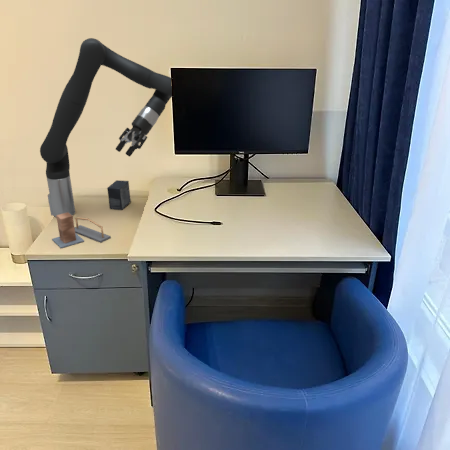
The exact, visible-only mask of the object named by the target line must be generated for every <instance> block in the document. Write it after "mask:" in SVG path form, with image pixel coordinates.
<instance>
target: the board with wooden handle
mask: <svg viewBox="0 0 450 450" xmlns="http://www.w3.org/2000/svg"><path fill="white" fill-rule="evenodd" d="M74 220H75V225H76V226H74V228H75V233H76V234H77V235H78V236H82V237H84V238H87V239H90V240H93V241H95V242H98V243H100V244H101V243H103V242H106V241H108V240H110V239H111V238H112V237H111V235H108V234H106V233H104V228H103V226H102V225H100V224H99V223H97V222H95V221H94V220H92V219H90V218H87V217H79V216H77V217H74ZM78 220H83V221H89V222H90V223H92V224H93V225H95V226H97V227H99V228H100V231H98V230H95V229H94V228H93V229H92V228H91V227H90V228H89V227H87V226H84V225H81V224H78V223H79V222H78Z"/></svg>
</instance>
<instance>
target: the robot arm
mask: <svg viewBox="0 0 450 450" xmlns="http://www.w3.org/2000/svg"><path fill="white" fill-rule="evenodd" d="M78 53H79V54H78V58H77V60H76V64H75V67H74V70H73V73H72V75H71V76H70V78H69V79H68V81H67V83H66V84H65V87H64V89H63V91H62V93H61V95H60V98H59V101H58V103H57V107H56V109H55V112H54V116H53V119H52V122H51V125H50V128H49V130H48V132H47V134H46V136H45V138H44V139H43V142H42V143H41V145H40V148H39V153H40V157H41V158H42V160H43V161H44V162H46V166H45V176H46V182H47V188H48V194H47V200H48V205H49V211H50V212H49V213H50V216H53V217H55V218H56V215H59V214H63V213H67V212H68V213H69V214H71V215H72V216H74V215H75V214H76V208H75V201H74V193H73V188H72V187H73V186H72V181H71V175H70V174H71V173H70V169H71V168H70V165H71V164H70V158H69V157H70V156H69V150H68V149H69V148H68V146H67V142H68V140H69V136H70V134H71V133H72V131H73V129H74V128H75V126H76V125H77V123H78V121H79V120H80V118H81V116H82V114H83V112H84V109H85V106H86V104H87V101H88V100H89V96H90V92H91V88H92V84H93V83H94V79H95V77H96V76H97V73H98V71H99V70H100V68H101V66H103V67H106V68H109V69H111V70H114V71H115V72H116V73H119V74H120V75H122V76H123V77H125V78H127V79H128V80H130V81H132V82H133V83H136V84H138V85H140V86H141V87H144V88H147V89H150V90H152V89H153V90H154V92H153V94H152V96H151V97H150V98H149V99H148V101H147V102H146V104H145V105H144V106H143V107H142V109H140V111H139V112H138V114H137V115H136V116H135V118H134V119H133V120H132V122H131V126H132V128H131V129H130V128H129V127H125V130H124V131H123V132H122V134H120V136H119V137H118V140H119V143H118V144H117V146H116V147H115V150H116V151H117V152H119V153H121V151H122V150H123V149H124V147H125V146H126V145H127V144H128V143H131V145H129V148H128V149H127V151H126V152H125V155H126V156H128V157H131V156H132V155H133V153H134V152H135V151H136V150H138V149H139V150H140V149H142V147H143V145H145V142H146V140H147V139H148V136H147V135H148V134H149V133H150V131H151V130H152V129H153V127H154V126H155V124H156V123H157V121H158V119H159V117H161V115H162V114H163V112H164V110H165V109H166V105H167V104H168V102H169V100H171V98H172V97H173V96H172V86H171V78H172V77H170V76H168V75H165V74H162V73H158V72H155V71H154V70H152V69H150V68H148V67H145V66H143V65H141V64H139V63H137V62H135V61H133V60H131V59H129V58H126V57H125V56H122V55H120V54H119V53H117V52H115V51H114V50H112V49H110V47H108V46H106V45H105V44H103V42H101V41H100V40H99V39H96V38H93V37H90V38H87V39H85V40H83V41H82V42H81V45H80V48H79V52H78Z"/></svg>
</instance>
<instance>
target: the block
mask: <svg viewBox="0 0 450 450" xmlns="http://www.w3.org/2000/svg"><path fill="white" fill-rule="evenodd" d="M55 218H56V221H57V222H56V223H57V228H58V234H59V237H60V240H62V241H63V242H64V243H68V242H71V241H75V240H76V235H75V228H74V227H75V223H74V215H71V214H69V213H68V212H67V213H63V214H59V215H56V217H55Z"/></svg>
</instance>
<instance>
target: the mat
mask: <svg viewBox="0 0 450 450" xmlns="http://www.w3.org/2000/svg"><path fill="white" fill-rule="evenodd" d="M75 235H76V240H75V241H71V242H68V243H64V242H63V241H62V240H60V236H57V237H54V238H51V240H52V242H53V243H54V244H56V245H57V246H58V247H59V248H60V249H64V248H67V247H71V246H73V245H74V246H75V245H77V244H81V243H84V242H85V240H84V239H83V238H82V237H81V235H79V234H77V233H75Z"/></svg>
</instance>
